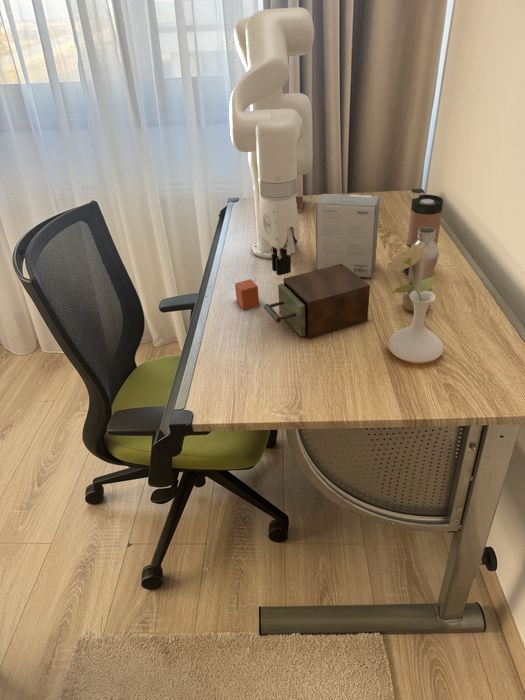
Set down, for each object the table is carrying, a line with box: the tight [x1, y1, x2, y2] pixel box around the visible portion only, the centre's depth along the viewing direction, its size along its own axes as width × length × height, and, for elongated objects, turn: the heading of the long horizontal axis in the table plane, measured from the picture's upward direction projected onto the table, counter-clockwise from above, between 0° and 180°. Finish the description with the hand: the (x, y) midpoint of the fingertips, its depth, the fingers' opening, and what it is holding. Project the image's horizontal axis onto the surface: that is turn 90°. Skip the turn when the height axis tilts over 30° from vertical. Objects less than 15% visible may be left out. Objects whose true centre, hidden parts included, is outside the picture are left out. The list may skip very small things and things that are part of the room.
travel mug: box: [404, 194, 444, 276], centre depth 132 cm, size 8×8×20 cm
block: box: [234, 278, 260, 311], centre depth 128 cm, size 4×4×6 cm
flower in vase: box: [386, 243, 444, 364], centre depth 102 cm, size 13×11×25 cm
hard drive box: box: [315, 193, 381, 278], centre depth 136 cm, size 16×8×20 cm, turn 71°
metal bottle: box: [402, 227, 440, 313], centre depth 118 cm, size 6×7×20 cm
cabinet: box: [283, 264, 371, 340], centre depth 120 cm, size 16×13×10 cm
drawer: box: [263, 283, 307, 337], centre depth 118 cm, size 19×11×8 cm, turn 113°
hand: (281, 271), depth 111 cm, fingers closed
